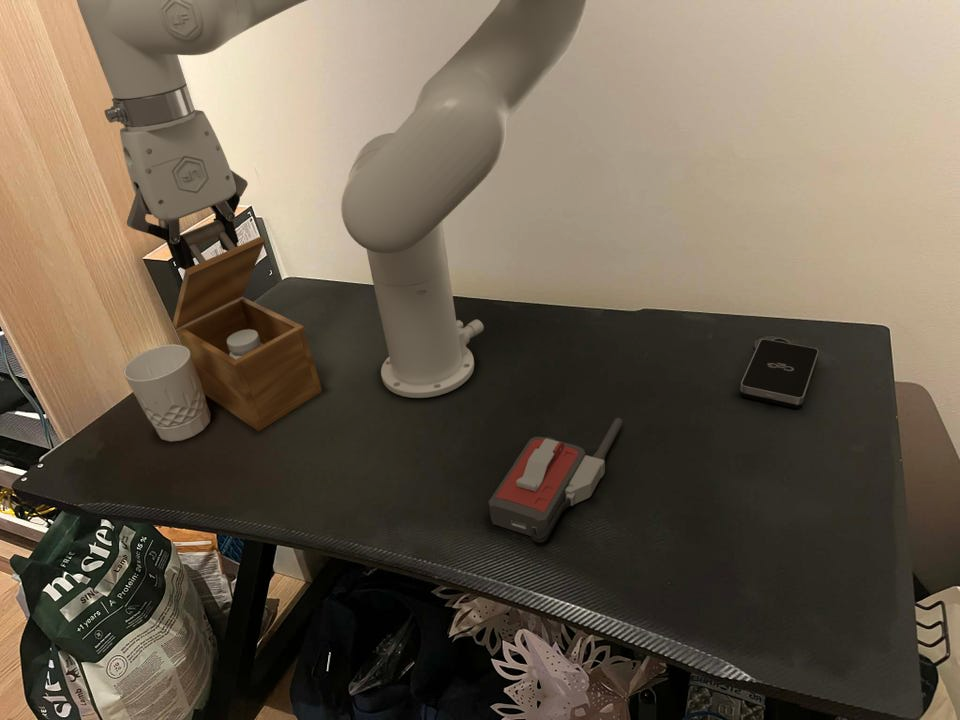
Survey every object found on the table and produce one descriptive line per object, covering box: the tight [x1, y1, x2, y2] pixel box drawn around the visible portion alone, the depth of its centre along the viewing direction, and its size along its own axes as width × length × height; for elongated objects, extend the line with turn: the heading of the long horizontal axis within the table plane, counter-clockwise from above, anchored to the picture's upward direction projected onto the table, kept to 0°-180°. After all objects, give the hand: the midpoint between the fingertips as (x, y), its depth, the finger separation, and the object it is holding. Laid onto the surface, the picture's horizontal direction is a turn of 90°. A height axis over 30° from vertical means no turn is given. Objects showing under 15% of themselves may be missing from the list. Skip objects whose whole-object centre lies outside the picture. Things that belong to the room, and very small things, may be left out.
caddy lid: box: [172, 220, 266, 329], centre depth 89 cm, size 15×10×6 cm
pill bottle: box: [227, 329, 263, 360], centre depth 93 cm, size 5×5×8 cm
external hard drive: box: [739, 338, 820, 409], centre depth 86 cm, size 7×11×2 cm, turn 150°
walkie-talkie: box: [487, 417, 624, 544], centre depth 75 cm, size 9×4×20 cm
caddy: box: [175, 296, 323, 432], centre depth 94 cm, size 15×10×10 cm
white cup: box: [123, 343, 212, 443], centre depth 90 cm, size 8×8×10 cm
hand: (209, 258), depth 87 cm, fingers closed on caddy lid, 5 cm apart
